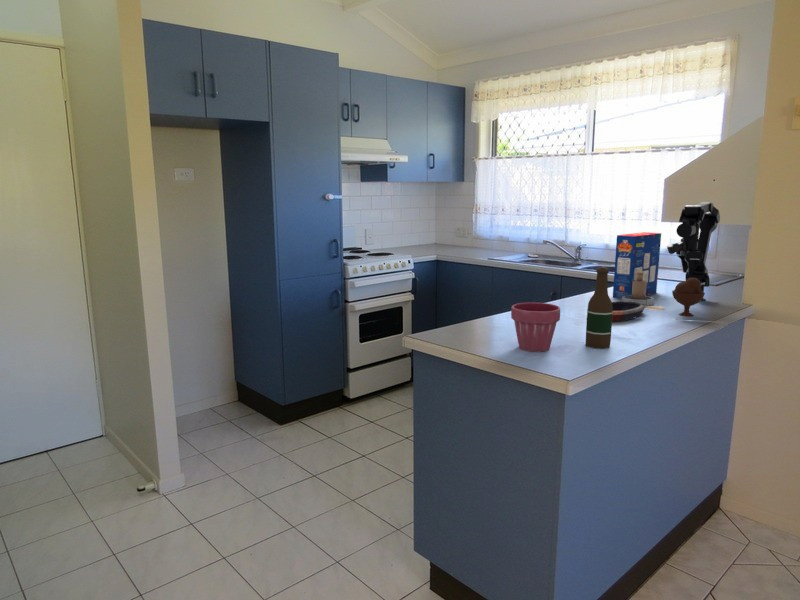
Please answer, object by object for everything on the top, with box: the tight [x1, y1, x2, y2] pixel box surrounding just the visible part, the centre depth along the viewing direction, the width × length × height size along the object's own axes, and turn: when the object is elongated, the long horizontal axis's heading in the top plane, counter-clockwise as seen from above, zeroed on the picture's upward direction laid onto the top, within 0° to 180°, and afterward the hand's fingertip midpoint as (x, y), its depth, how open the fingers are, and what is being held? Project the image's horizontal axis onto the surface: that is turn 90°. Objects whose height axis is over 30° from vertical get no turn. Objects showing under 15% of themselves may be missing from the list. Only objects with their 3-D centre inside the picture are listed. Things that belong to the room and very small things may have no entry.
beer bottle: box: [585, 267, 613, 350], centre depth 175 cm, size 8×8×24 cm
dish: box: [611, 300, 646, 322], centre depth 219 cm, size 16×31×5 cm, turn 129°
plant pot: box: [510, 301, 561, 353], centre depth 174 cm, size 14×14×13 cm
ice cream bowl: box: [671, 278, 706, 318], centre depth 218 cm, size 11×11×15 cm
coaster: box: [644, 305, 666, 311], centre depth 233 cm, size 7×7×1 cm
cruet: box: [631, 271, 647, 300], centre depth 243 cm, size 5×5×13 cm
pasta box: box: [612, 231, 662, 299], centre depth 262 cm, size 28×8×28 cm, turn 134°
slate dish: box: [621, 295, 655, 306], centre depth 244 cm, size 12×12×3 cm
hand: (687, 274), depth 240 cm, fingers open, 9 cm apart
